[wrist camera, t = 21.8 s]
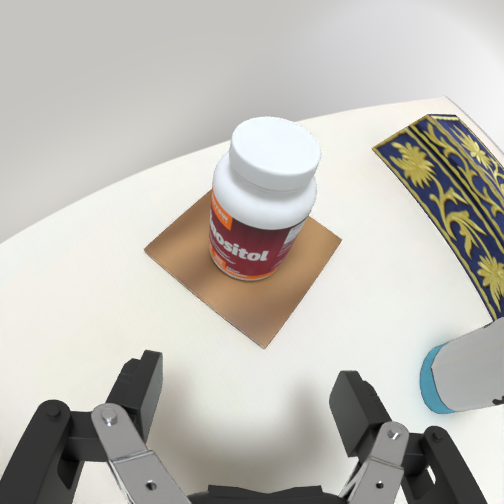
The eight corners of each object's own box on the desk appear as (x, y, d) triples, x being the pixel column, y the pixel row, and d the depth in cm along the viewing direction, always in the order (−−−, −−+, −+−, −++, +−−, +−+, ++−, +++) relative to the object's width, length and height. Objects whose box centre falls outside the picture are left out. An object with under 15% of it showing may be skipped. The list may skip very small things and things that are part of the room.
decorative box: (503, 343, 23) (560, 315, 15) (371, 148, 34) (400, 94, 26) (525, 300, 27) (569, 272, 19) (413, 140, 38) (439, 97, 30)
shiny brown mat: (144, 251, 23) (143, 249, 22) (236, 171, 28) (237, 168, 28) (264, 349, 20) (265, 348, 20) (340, 241, 26) (342, 239, 26)
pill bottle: (192, 253, 23) (188, 142, 13) (238, 204, 26) (258, 96, 16) (258, 299, 22) (301, 209, 12) (298, 243, 25) (350, 144, 15)
